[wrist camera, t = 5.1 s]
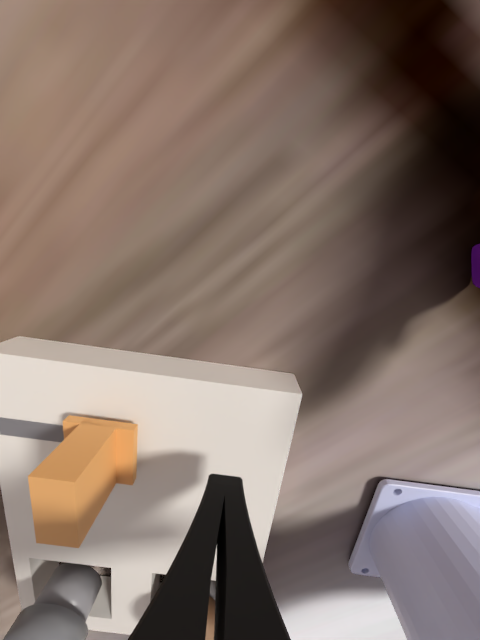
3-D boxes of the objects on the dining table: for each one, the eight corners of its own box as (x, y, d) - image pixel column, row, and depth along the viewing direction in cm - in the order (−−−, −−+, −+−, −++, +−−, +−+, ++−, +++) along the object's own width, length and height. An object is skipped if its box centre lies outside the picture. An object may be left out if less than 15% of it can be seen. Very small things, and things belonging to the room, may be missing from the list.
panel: (293, 373, 13) (302, 394, 11) (242, 605, 18) (242, 649, 16) (19, 336, 12) (-24, 350, 10) (47, 582, 18) (22, 623, 16)
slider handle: (137, 424, 11) (98, 485, 8) (136, 477, 12) (100, 550, 9) (68, 415, 11) (4, 473, 8) (72, 469, 12) (14, 540, 9)
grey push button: (107, 562, 15) (65, 656, 11) (108, 602, 16) (69, 699, 12) (44, 554, 15) (-18, 646, 11) (49, 595, 16) (-7, 691, 12)
